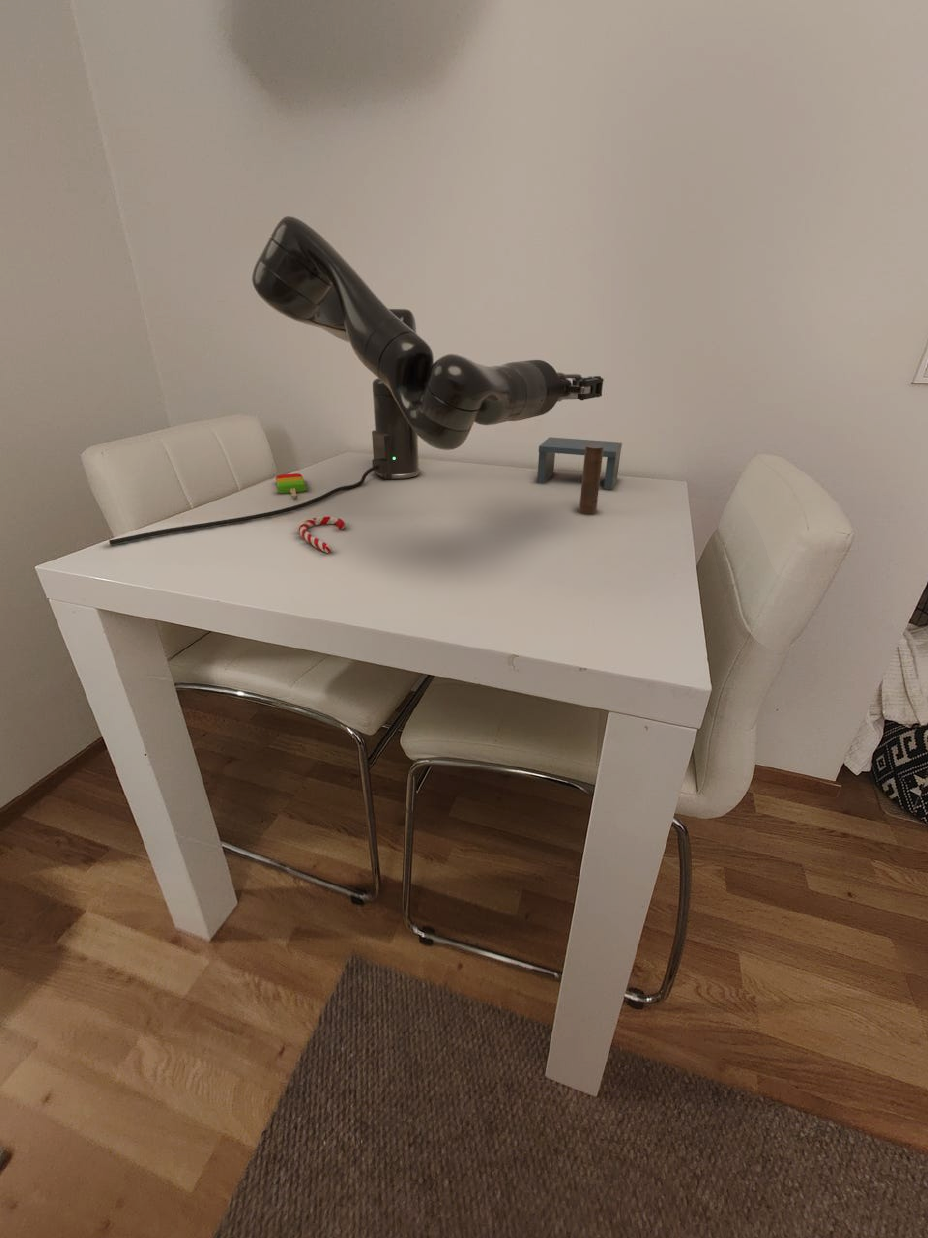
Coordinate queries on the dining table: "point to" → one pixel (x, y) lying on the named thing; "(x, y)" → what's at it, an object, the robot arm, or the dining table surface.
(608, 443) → the shelf
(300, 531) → the candy cane
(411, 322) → the robot arm
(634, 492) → the dining table surface
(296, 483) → the popsicle
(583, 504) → the stick
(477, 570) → the dining table surface
